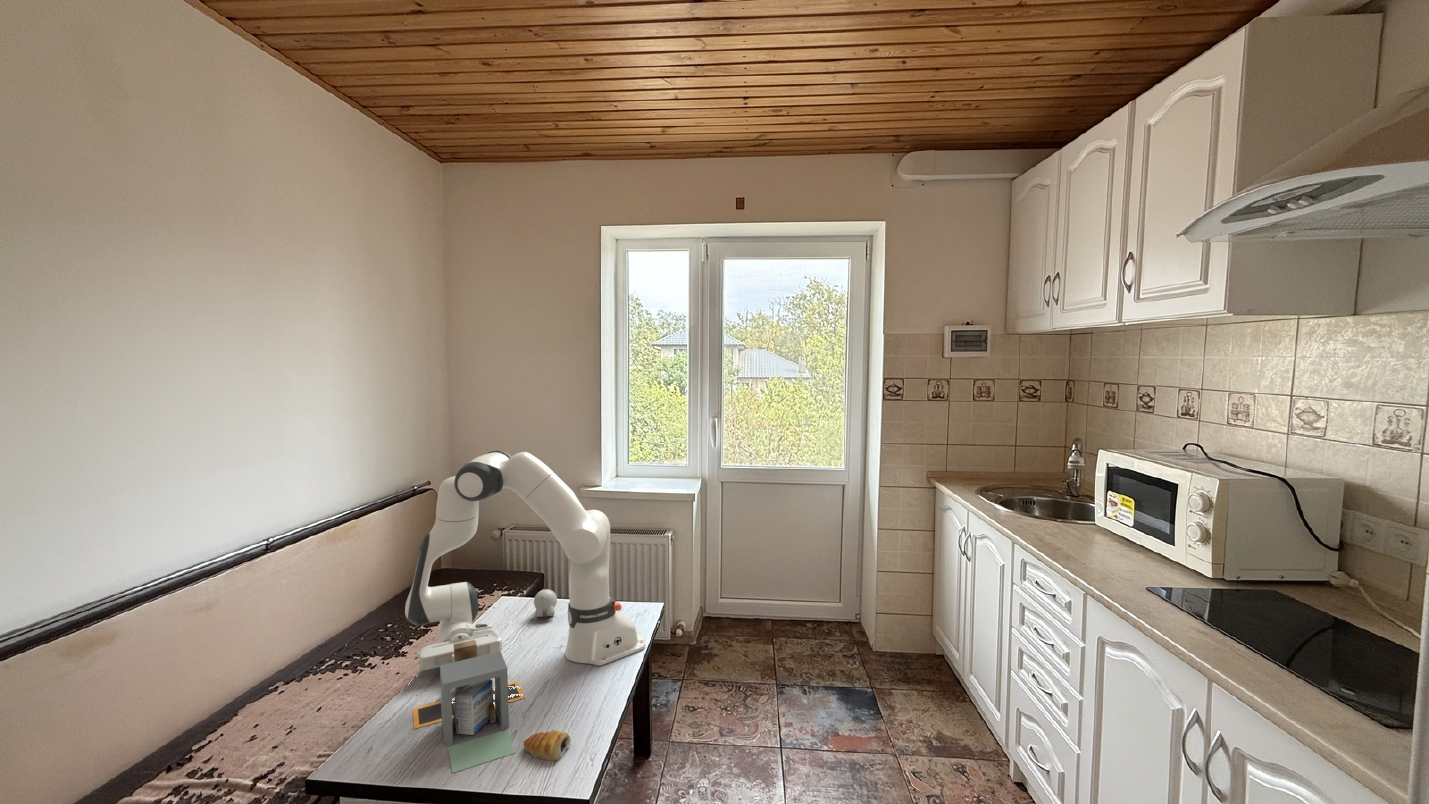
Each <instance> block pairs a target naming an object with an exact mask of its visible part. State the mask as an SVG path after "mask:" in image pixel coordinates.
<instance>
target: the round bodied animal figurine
mask: <svg viewBox="0 0 1429 804" xmlns="http://www.w3.org/2000/svg"><path fill="white" fill-rule="evenodd" d="M557 602H558V597H557V594H556V593H555V592H554V591H553V590H552V589H545V588H544V589H541V590H540V591H538V592H537V593H536V595H534V598H533V605H534V607H535V611H534V617H536V618H544V617H546V616H547V617H553V616H555V613H556V611H555V607H556V605H557Z"/></svg>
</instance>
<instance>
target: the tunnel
mask: <svg viewBox="0 0 1429 804" xmlns="http://www.w3.org/2000/svg"><path fill="white" fill-rule="evenodd" d="M508 675H509V674H508V667H507V664H506V661H505V659H504V656H503V654H502V651H500V652H496V653H491V654H487V655H483V656H478V657H474V658H470V659H466V660H461V661H457V662H453V663H449V664H444V665H440V667H439V679H440V680H439V681H440V685H439V686H440V701H441V712H442V721H441V726H442V727H441V728H442V732H443V739H444V746H445V747H447V746H449V745H450V746H451V745H453V743H454V737H453V736H454V734H453V718H452V704H451V698H452V690H454V689H455V688H457V687H461V686H465V685H469V684H473V683H477V682H481V681H485V680H489V679H491V680H493V679H494V687H495V705H496V706H495V712H496V714H497V715H496V716H497V718H498V721H499V724H500V728H501V729H502V730H503V729H506V728H509V727H510V717H509V716H510V714H509V713H510V711H509V707H510V706H509V703H508V680H509V679H508V678H509V676H508Z"/></svg>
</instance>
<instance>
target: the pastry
mask: <svg viewBox="0 0 1429 804" xmlns="http://www.w3.org/2000/svg"><path fill="white" fill-rule="evenodd" d="M571 740H572V739H571V736H570V734H569V733H568V732H566V731H565V732H563V731H559V730H555V729H551V730H550V731H544V732H543V731H541V732H537V733H533V734H531V735H530V736H529V737H528V738H526V739H525V740H524V741H523V748H524V750H525V751H526V752H527V753H528V754H531V755H532V756H533V757H534V758H536V759H541V760H546V761H550V762H556V761H559V760H560V759H561V758H562V757H564V754H565V752H566V750H567V749H569V747H570V746H571Z"/></svg>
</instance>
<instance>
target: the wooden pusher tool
mask: <svg viewBox="0 0 1429 804" xmlns="http://www.w3.org/2000/svg"><path fill="white" fill-rule="evenodd" d="M474 657H477V644H476V641H475V640H471V641H467V642H462V643H458V644H454V662H457V661H461V660H466V659H470V658H474ZM466 686H468V685H465V686H461V687H457V688H454V689H455V693H456V694H458V693H459V692H461V691H462V690H463V689H464V688H465V687H466ZM453 715H454V718H453V720H454V725H455V730H456V729H457V733H456V734H458V719H455V703H453ZM489 722H490V724H492V723H496V706H495V707H494V704H493V702H492V703H491V704H490V705H489Z"/></svg>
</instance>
